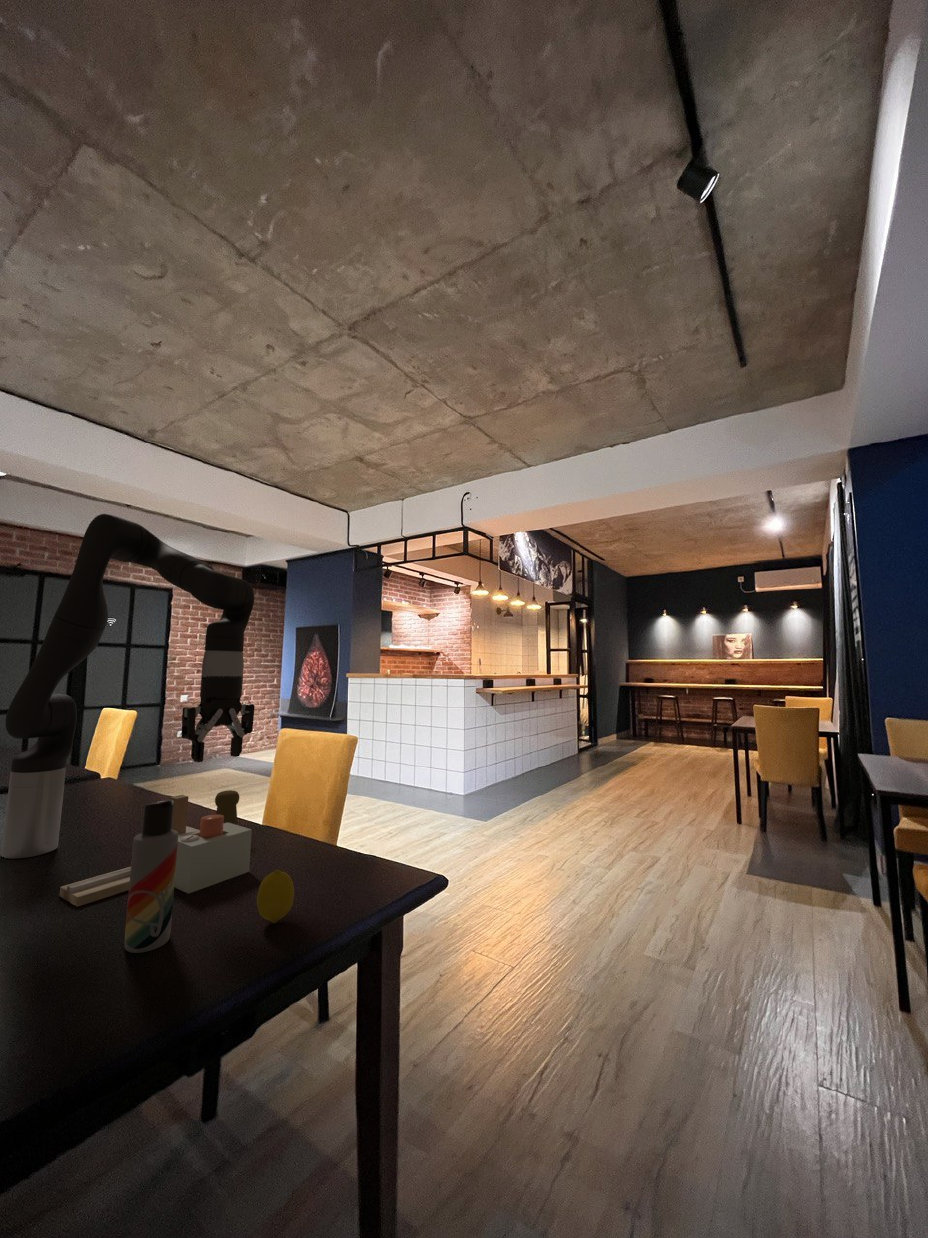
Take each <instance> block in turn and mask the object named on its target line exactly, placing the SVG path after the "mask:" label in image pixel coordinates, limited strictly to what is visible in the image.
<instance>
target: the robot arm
mask: <svg viewBox="0 0 928 1238" xmlns="http://www.w3.org/2000/svg"><path fill="white" fill-rule="evenodd" d="M110 560H113V561H119V562H123V563H132V564H134V565H135V564H136V565H140V566H143V567H147V568H150V569H152V570H154V571H156V572H157V573H158V574H159V575H160V576H161V577H162V579H163V580H165V581H166V582H168V583H170V584H171V585H173V586H176V587H177V588H178V589H179V588H180V589H181V590H183V591H185V592H187V593H189V594H190V595H192V596H193V598H195V599H196V600H197V601H199V602H200V603H201V604H203V605H205V606H207V607H210V608H213V609H218V610H223V611H222V614H221V616H220V619H219V621H213V622H210V623H209V624H208V625H207V626H206V631H205V642H204V652H203V653H204V654H203V657H202V663H201V664H202V665H201V676H200V677H201V679H200V690H199V691H200V692H199V697H200V703H199V704H198V706H184V707H182V711H181V738H182V739H185V740H188V741H190V742H191V751H190V757H191V759H192V760H193V762H195V763H202V762H204V758H205V757H204V756H205V755H204V753H205V742H204V740H205V738H206V737H207V735H208V734H209V733H210V732H211V731H212V730H213V728H214V727H216V728H217V727H220V726H225V727H226V728H227V729H228V730H229V732H230V734H231V736H232V737H230V750H229V751H230V752H229V754H230V757H233V758H236V757H237V758H238V757H240V755H241V754H242V751H243V743H244V741H243V740H244V737H245V736H246V735H248V734H251V733H253V728H254V721H255V718H254V716H255V708H256V706H255V704H253V703H243V704H242V703H241V698H242V695H243V680H244V665H245V661H244V647H245V645H244V643H245V632H246V629H247V626H248V624H249V621H250V617H251V615H252V611H253V608H254V605H255V604H254V603H255V591H254V589H253V586H252V584H251V583H250V582H248V581H247V580H245V579H243V578H240V577H235V576H232V575H229V574H224V573H221V572H219V571H217V570H215V569H214V568H213V567H212V566H211V565H209V564H208V563H207V562H204V561H202V560H200V559H198V558H196V557H194V556H193V555H190V554H188V553H185V552H183V551H180V550H178V549H176V548H174V547H172V546H170V545H168V544H167V543H165V542H164V541H162V540H161V539H160V538H158V537H157V536H156V535H155V534H153V533H152V532H151V531H149V530H148V529H147V528H145V527H144V526H143V525H141V524H140V523H137V522H134V521H131V520H128V519H125V518H122V517H120V516H116V515H113V514H109V513H101V514H98V515H96V516H95V517H94V518H93V519H92V520H91V521H90V523H89V524H88V526H87V528H86V530H85V533H84V535H83V537H82V541H81V544H80V548H79V552H78V554H77V558H76V561H75V564H74V568H73V570H72V573H71V576H70V578H69V580H68V584H67V586H66V589H65V591H64V594H63V595H62V598H61V600H60V603H59V605H58V607H57V608H56V611H55V613H54V616H53V618H52V620H51V622H50V624H49V627H48V629H47V631H46V633H45V636H44V640H43V642H42V644H41V646H40V648H39V651H38V653H37V654H36V656H35V659H34V661H33V663H32V665H31V667H30V669H29V670H28V673H27V674H26V676H25V678H24V679H23V681H22V683H21V685H20V686H19V688H18V689H17V692H16V693H15V695H14V697H13V699H12V701H11V702H10V705H9V706H8V708H7V709H8V710H7V711H6V715H5V722H4V723H5V724H4V725H5V729H6V732H7V734H8V735H9V736H11V737H12V738H13V739H20V740H21V739H23V740H24V739H36V738H37V741H36V743H35V744H33V745H32V746H31V747H30V748H29V749H27V750H26V751H24V752H21V753H20V754H17V755H15V756H14V757H13V758H12V760H11V765H10V774H9V782H8V793H7V803H6V808H5V816H4V817H5V818H4V826H3V835H2V844H1V851H0V857H1V856H2V858H3V857H4V859H25V858H31V857H36V856H41V855H44V854H47V853H50V852H52V851H54V850H56V849H57V848H58V846H59V838H60V830H61V820H62V809H63V800H64V791H65V782H66V781H65V779H66V772H67V771H66V770H67V762H68V760H69V759H68V758H70V755H71V753H72V751H73V750H72V749H73V745H74V744H73V743H74V738H75V733H76V732H75V731H76V726H77V720H78V719H77V718H78V709H77V705H76V701H75V700H74V699H73V697H72V696H70V695H68V694H64V693H54V692H55V690H56V687H57V686H58V685H59V684H60V682H61V681H62V679H63V678H64V677H65V676H66V675H68V673H69V672H71V671H72V670H74V668H75V667H77V666H78V665H79V664H80V663H82V662H83V661H84V660H85V659H86V658H88V656H89V655H90V654H91V653H92V652H93V651H94V650H96V647H98V644H99V642H100V640H101V638H102V636H103V634H104V632H105V629H106V627H107V624H108V621H109V611H108V606H107V605H108V604H107V602H106V601H107V600H106V596H105V594H104V593H105V591H104V585H103V584H104V583H103V581H104V577H105V574H106V570H107V567H108V565H109V563H110ZM239 713H240V714H241V719H239V717H238V714H239ZM198 715H200V717H201V718H200V720H199V721H198V722H197V724H196V718H197V717H198Z"/></svg>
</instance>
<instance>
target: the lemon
mask: <svg viewBox="0 0 928 1238" xmlns="http://www.w3.org/2000/svg"><path fill="white" fill-rule="evenodd" d="M294 899H295V887H294V882H293V879H292V878H291V876H290V875H289V874H288V873H287V872H284V871H281V870H280V869H275V870H274V871H273V872H271V873H268V874H267V875H266V876H265V877H264V878H263V879H262V881H261V883H260V884H259V888H258V892H257V895H256V907H257V911H258V913H259V915H260V917H262V918H263V919H264V920H266V921H269V922H271V923H272V924H276V923H278V922H279V920H281V919H283V918H284V917H286V915H287V914H288V913H289V912H290V910H291V909H292V906H293V905H294Z"/></svg>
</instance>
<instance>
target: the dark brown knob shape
mask: <svg viewBox="0 0 928 1238" xmlns="http://www.w3.org/2000/svg"><path fill="white" fill-rule="evenodd" d="M239 801H240V793H239V792H238V791H236V790H228V789H227V790H224V791H220V792H218V793H216V795H215V799H214V804H215V806H216V811H215V815H223V816H224V822H223V824H224V823H232V824H235V825H238V826H239V824H238V811H237V810H238V809H237V807H238V806H237V805H238V804H239Z"/></svg>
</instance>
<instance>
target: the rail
mask: <svg viewBox="0 0 928 1238" xmlns="http://www.w3.org/2000/svg"><path fill="white" fill-rule="evenodd" d="M130 872H131V866H128V867H125V868H122V869H118V870H114V871H110V872H108V873H107V872H106V873H104V874H100V875H97V876H93V877H90V878H86V879H83V880H79V881H76V882H72V883H70V884H65V885H62V886H60V887H59V888H60V889H59V895H58V896H59V897H61V898H62V899H63V900H65V901H67V902H69V904H72V905H73V906H75V907H81V906H84V905H87V904H90V903H94V902H96V901H100V900H101V899H102V900H103V899H105V898H109V897H112V896H115V895H118V894H122V893H124V892H127V891H129V884H130Z"/></svg>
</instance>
